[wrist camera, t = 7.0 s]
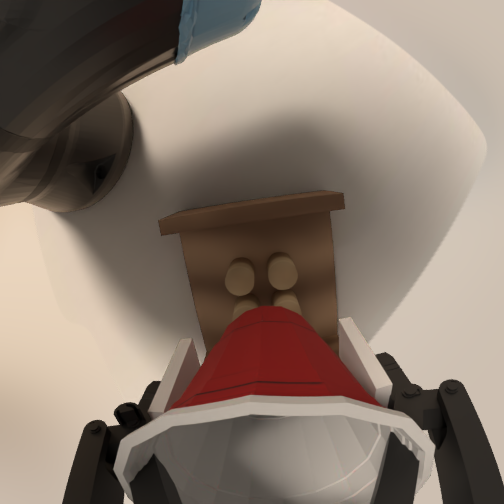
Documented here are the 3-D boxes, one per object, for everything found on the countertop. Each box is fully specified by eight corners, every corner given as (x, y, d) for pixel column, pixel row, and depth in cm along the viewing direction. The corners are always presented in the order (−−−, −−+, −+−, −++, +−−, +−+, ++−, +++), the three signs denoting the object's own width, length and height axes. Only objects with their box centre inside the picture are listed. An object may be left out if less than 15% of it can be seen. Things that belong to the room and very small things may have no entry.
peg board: (179, 211, 27) (158, 220, 21) (324, 190, 26) (343, 193, 20) (210, 354, 31) (201, 389, 25) (334, 338, 30) (349, 370, 24)
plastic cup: (302, 224, 16) (409, 330, 4) (371, 358, 18) (445, 495, 6) (149, 313, 17) (48, 455, 6) (240, 419, 19) (230, 558, 8)
